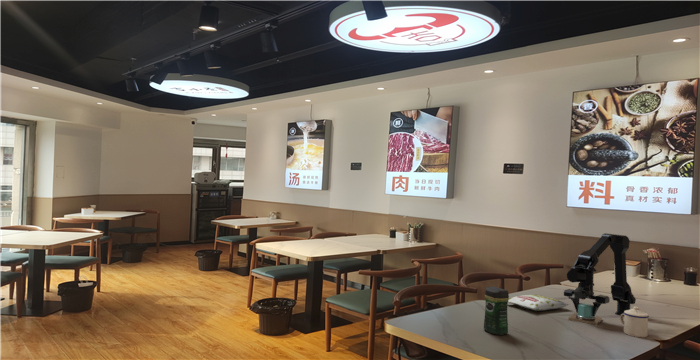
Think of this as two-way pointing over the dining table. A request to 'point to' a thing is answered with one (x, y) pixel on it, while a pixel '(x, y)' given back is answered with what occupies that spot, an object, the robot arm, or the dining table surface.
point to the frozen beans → (536, 302)
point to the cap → (585, 310)
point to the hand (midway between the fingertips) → (585, 314)
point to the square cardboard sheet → (585, 319)
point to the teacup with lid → (635, 322)
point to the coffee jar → (496, 310)
